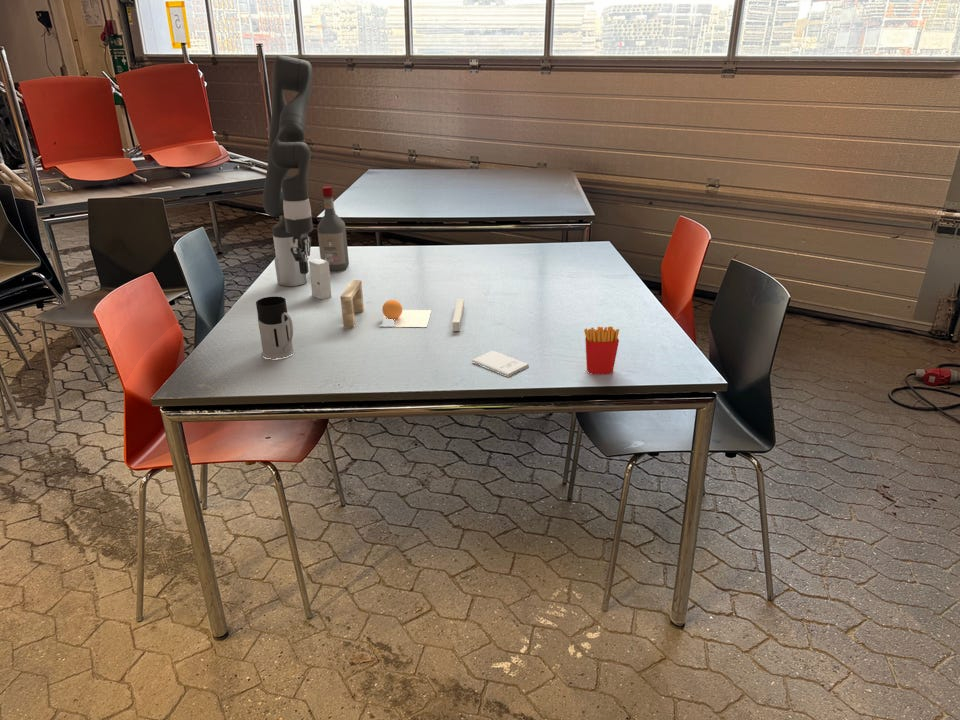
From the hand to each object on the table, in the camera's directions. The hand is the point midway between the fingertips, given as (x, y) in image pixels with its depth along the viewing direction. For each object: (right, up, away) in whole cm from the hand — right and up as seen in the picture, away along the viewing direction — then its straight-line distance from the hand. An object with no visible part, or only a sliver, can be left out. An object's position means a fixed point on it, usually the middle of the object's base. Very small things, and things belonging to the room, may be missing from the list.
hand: (304, 273), depth 197 cm
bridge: (+14, -13, +6) cm, 20 cm away
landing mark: (+30, -13, +5) cm, 33 cm away
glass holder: (0, -25, -19) cm, 31 cm away
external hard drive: (+57, -28, -25) cm, 68 cm away
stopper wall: (+46, -13, +4) cm, 48 cm away
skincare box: (0, -5, +24) cm, 25 cm away
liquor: (-2, +8, +53) cm, 53 cm away
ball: (+26, -10, +4) cm, 28 cm away
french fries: (+82, -29, -29) cm, 92 cm away
